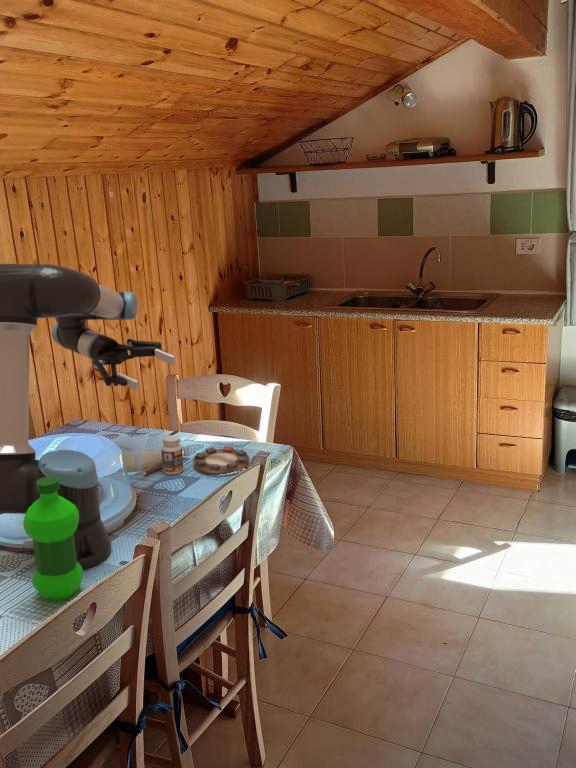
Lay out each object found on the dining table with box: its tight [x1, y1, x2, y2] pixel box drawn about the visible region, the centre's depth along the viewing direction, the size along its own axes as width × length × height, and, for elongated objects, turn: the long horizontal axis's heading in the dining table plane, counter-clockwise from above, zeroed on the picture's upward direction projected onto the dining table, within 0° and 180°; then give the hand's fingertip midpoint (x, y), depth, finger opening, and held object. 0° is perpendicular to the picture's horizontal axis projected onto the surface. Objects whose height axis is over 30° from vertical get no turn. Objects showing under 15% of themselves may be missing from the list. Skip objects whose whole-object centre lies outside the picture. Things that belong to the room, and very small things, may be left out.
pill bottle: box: [160, 434, 184, 475], centre depth 210 cm, size 6×6×10 cm
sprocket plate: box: [192, 446, 251, 476], centre depth 215 cm, size 16×16×2 cm
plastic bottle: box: [22, 476, 84, 602], centre depth 150 cm, size 10×10×25 cm
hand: (156, 373), depth 195 cm, fingers open, 13 cm apart
